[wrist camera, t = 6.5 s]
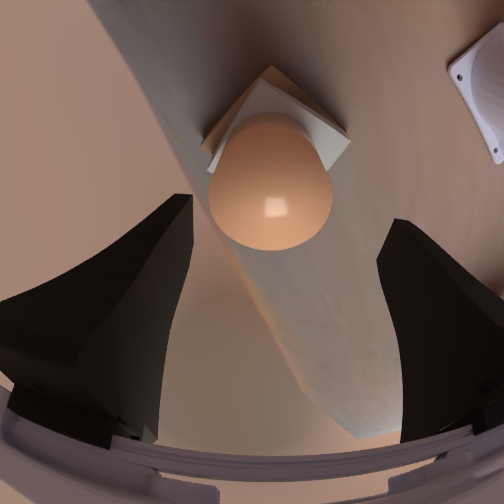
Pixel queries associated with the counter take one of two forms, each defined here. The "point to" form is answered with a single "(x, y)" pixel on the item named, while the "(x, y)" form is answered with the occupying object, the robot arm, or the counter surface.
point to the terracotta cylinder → (270, 184)
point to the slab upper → (275, 100)
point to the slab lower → (268, 75)
